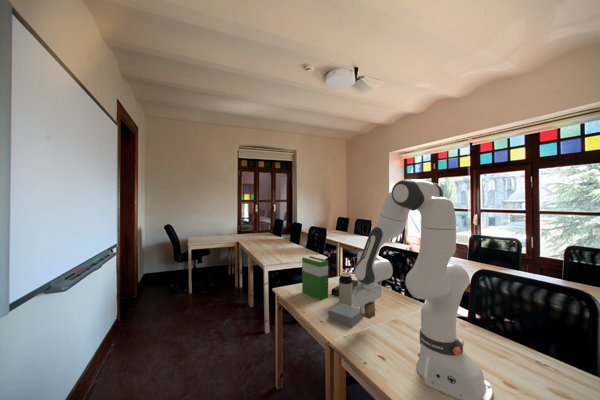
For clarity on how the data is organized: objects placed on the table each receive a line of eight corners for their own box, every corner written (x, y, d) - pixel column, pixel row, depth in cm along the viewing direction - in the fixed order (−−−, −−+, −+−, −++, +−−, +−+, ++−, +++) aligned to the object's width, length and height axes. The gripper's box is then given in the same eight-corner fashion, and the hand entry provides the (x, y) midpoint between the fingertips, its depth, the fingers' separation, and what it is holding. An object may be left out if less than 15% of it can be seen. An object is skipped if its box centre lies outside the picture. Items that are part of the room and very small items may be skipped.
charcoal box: (362, 318, 128) (362, 309, 128) (352, 328, 119) (352, 318, 119) (340, 311, 137) (340, 302, 137) (328, 319, 128) (328, 309, 128)
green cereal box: (302, 292, 165) (302, 257, 165) (310, 289, 169) (310, 256, 169) (320, 300, 151) (319, 262, 151) (328, 297, 155) (328, 260, 156)
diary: (331, 295, 161) (331, 288, 161) (348, 285, 180) (348, 278, 180) (356, 302, 149) (356, 294, 149) (372, 290, 169) (372, 283, 169)
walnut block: (375, 315, 117) (374, 303, 117) (369, 319, 113) (368, 306, 114) (366, 312, 121) (365, 300, 121) (360, 315, 117) (360, 303, 118)
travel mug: (354, 305, 143) (353, 275, 143) (340, 306, 142) (340, 276, 142) (350, 300, 151) (350, 271, 151) (337, 300, 150) (337, 272, 150)
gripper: (359, 288, 108) (360, 319, 108) (383, 279, 122) (384, 307, 121) (348, 285, 113) (349, 315, 113) (372, 276, 127) (373, 303, 126)
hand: (367, 310), depth 117 cm, fingers closed on walnut block, 5 cm apart
